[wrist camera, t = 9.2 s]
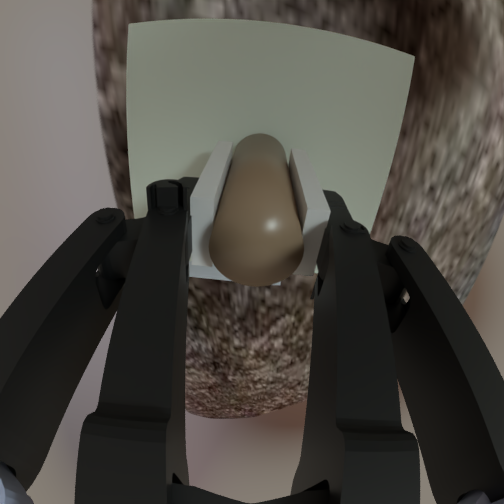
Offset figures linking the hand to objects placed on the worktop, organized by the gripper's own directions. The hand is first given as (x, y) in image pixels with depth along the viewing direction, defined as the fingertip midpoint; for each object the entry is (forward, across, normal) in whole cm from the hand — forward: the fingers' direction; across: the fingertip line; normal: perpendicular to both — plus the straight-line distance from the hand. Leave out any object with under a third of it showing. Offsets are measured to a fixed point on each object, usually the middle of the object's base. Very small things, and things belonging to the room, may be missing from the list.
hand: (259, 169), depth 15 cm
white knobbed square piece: (+6, 0, 0) cm, 6 cm away
